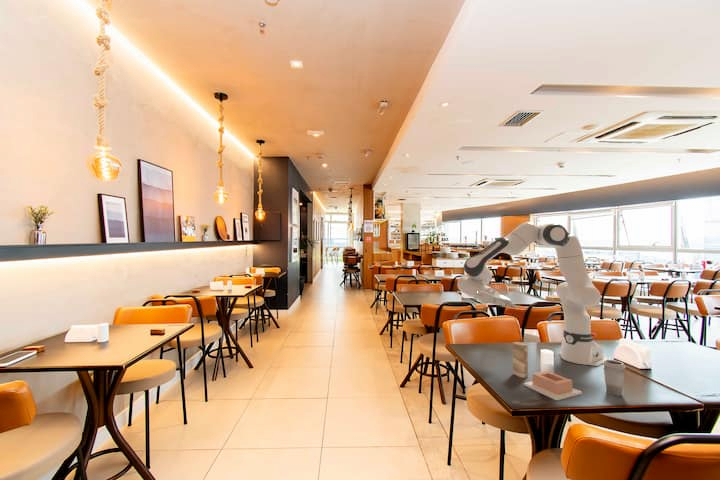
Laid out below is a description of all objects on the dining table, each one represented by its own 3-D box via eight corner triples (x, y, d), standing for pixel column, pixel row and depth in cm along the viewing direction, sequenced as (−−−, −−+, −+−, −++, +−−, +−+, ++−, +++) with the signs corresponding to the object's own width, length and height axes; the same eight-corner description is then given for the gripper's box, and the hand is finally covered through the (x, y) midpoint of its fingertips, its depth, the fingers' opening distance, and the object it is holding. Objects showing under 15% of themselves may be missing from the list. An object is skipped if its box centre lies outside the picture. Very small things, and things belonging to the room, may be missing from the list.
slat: (518, 373, 145) (518, 341, 145) (527, 377, 140) (527, 345, 140) (513, 374, 143) (513, 342, 144) (522, 378, 139) (522, 345, 139)
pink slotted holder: (548, 380, 137) (548, 368, 137) (581, 394, 124) (581, 381, 124) (524, 385, 132) (524, 373, 132) (556, 400, 119) (556, 386, 119)
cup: (623, 391, 126) (623, 361, 127) (627, 398, 121) (627, 366, 121) (601, 387, 130) (601, 357, 130) (603, 394, 124) (603, 362, 124)
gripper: (476, 285, 155) (501, 297, 144) (497, 291, 167) (522, 302, 156) (471, 297, 156) (496, 310, 145) (493, 302, 168) (517, 314, 157)
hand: (510, 306), depth 151 cm, fingers open, 8 cm apart
